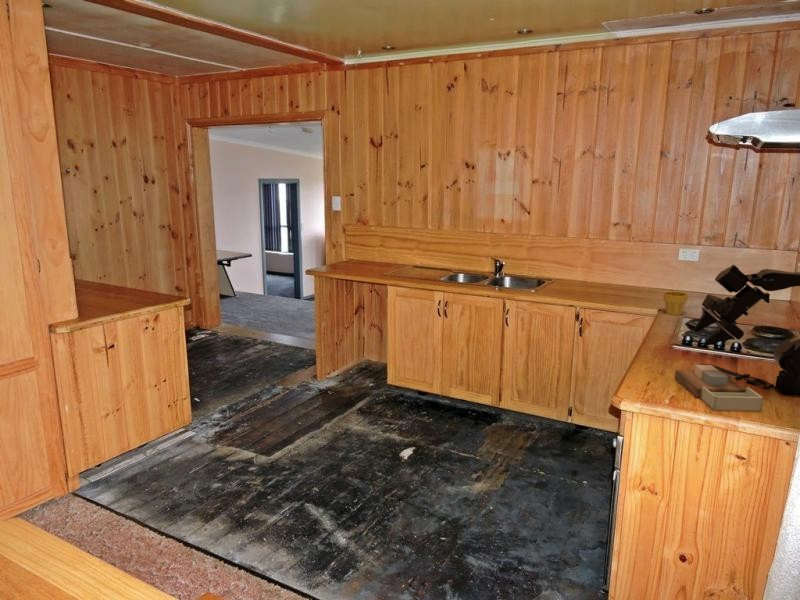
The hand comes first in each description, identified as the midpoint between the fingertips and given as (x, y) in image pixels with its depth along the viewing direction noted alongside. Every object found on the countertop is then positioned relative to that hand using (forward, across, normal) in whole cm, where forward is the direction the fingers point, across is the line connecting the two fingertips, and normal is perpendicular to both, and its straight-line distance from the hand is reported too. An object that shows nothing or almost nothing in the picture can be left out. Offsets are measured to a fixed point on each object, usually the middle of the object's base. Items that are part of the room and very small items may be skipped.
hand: (700, 337), depth 173 cm
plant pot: (+9, -88, +39) cm, 97 cm away
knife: (+4, -5, +22) cm, 23 cm away
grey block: (+7, +10, +8) cm, 15 cm away
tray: (+7, +20, +10) cm, 23 cm away
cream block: (+8, +4, +9) cm, 13 cm away
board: (+10, +7, +10) cm, 16 cm away
